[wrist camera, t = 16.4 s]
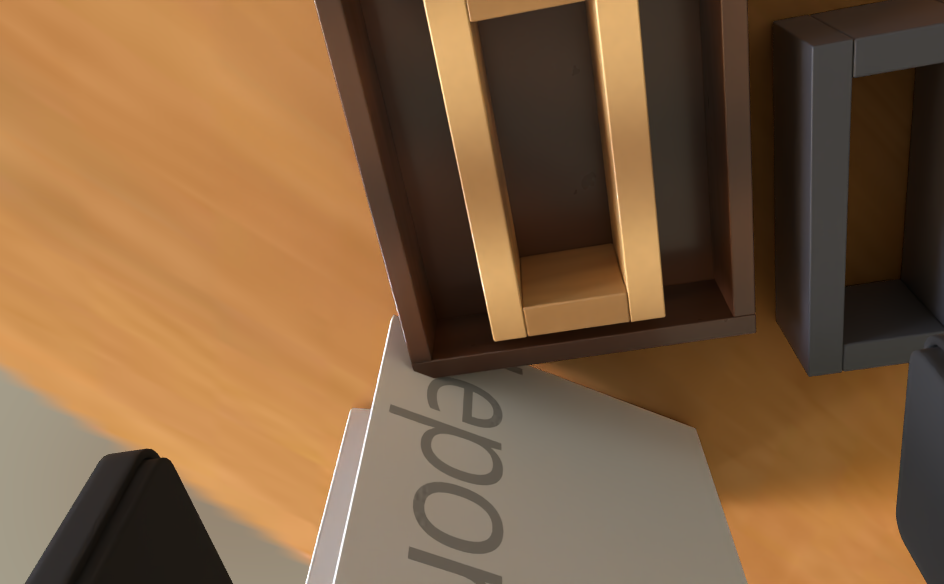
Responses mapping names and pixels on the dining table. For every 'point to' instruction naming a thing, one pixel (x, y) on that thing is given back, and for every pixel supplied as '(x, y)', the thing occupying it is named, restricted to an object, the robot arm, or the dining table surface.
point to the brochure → (516, 487)
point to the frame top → (625, 163)
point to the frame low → (827, 176)
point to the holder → (551, 169)
